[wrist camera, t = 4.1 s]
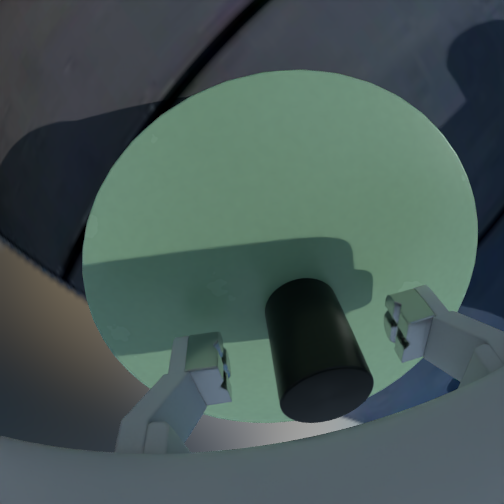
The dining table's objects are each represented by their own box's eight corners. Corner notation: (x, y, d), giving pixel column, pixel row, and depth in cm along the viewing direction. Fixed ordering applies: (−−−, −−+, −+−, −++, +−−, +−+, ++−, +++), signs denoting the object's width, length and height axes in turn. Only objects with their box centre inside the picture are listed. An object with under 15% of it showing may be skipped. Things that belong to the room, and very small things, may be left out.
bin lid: (172, 419, 16) (165, 499, 12) (37, 142, 9) (-66, 191, 4) (433, 363, 16) (470, 431, 11) (464, 69, 8) (572, 84, 4)
